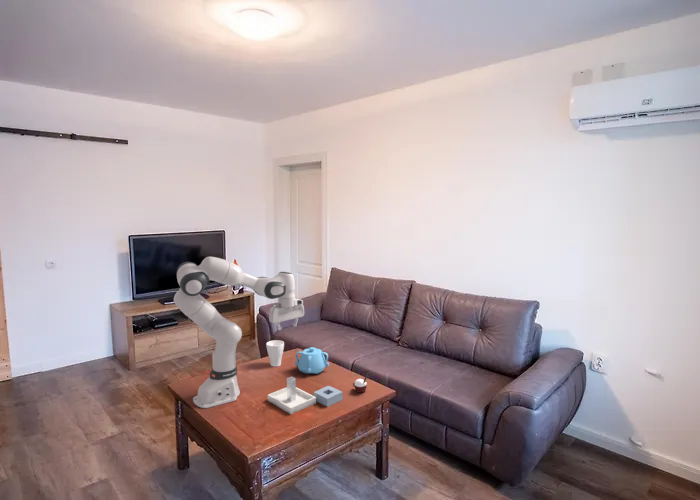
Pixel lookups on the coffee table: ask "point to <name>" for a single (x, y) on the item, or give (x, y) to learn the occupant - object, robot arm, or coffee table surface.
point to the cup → (275, 352)
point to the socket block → (328, 396)
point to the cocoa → (361, 384)
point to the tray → (292, 407)
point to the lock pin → (291, 389)
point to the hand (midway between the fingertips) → (287, 328)
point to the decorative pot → (311, 361)
